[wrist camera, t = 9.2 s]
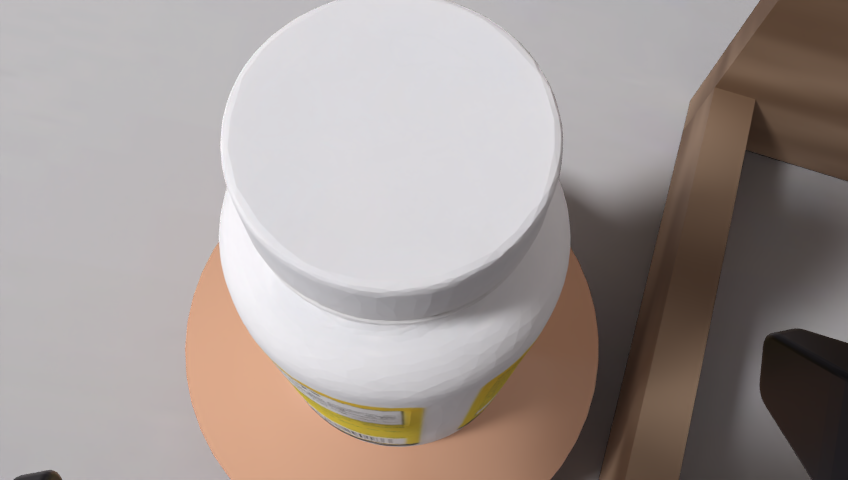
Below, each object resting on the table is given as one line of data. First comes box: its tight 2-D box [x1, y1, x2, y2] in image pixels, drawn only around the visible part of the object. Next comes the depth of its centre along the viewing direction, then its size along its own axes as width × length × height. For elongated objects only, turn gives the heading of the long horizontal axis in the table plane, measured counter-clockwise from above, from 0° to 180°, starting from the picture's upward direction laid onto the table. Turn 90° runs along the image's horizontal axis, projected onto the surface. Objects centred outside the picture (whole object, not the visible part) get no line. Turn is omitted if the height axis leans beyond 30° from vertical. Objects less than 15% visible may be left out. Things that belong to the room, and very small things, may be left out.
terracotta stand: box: [185, 243, 598, 480], centre depth 19 cm, size 10×10×3 cm
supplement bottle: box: [219, 0, 571, 447], centre depth 13 cm, size 5×5×10 cm
